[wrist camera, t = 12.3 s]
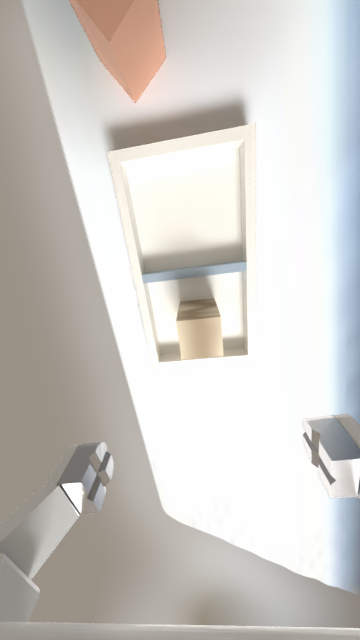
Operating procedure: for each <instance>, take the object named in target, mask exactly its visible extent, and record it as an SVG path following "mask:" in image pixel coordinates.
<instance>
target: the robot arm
mask: <svg viewBox="0 0 360 640" xmlns="http://www.w3.org/2000/svg"><path fill="white" fill-rule="evenodd" d="M303 428H304V430H305V431H306V432H305V433H304V434H303V443H304V446H305V450H306V452H307V455H308V457H309V459H310V461H311V463H312V464H314V465H315V466H316V467H318V468H319V478H320V480H321V482H322V484H323V486H324V487H325V489H326V491H327V493H328V495H329V497H330V498H344V497H359V499H360V425H359V424H358V423H357V422H356V421H355V420H354V419H353V418H352V417H351V416H350V415H348V414H342V415H333V416H323V417H315V418H307V419H303ZM106 450H107V446H106V444H105V443H104V442H100V443H89V444H77V445H70V446H69V447H68V448H67V449H66V450H65V452H64V454H63V455H62V457H61V459H60V460H59V462H58V464H57V465H56V467H55V469H54V470H53V472H52V473H51V475H50V477H49V478H48V480H47V482H46V484H45V485H44V486H43V487H40V488H38V489H37V490H36V491H35V492H34V493H33V494H32V495H31V496H29V497H28V498H27V499H26V500H25V501H24V502H23V503H22V504H21V505H19V506H18V507H17V508H16V509H15V510H14V511H13V512H12V513H11V514H9V515H8V516H7V517H6V518H5V519H4V520H3V521H2V522H1V523H0V640H360V628H320V627H318V628H317V627H264V626H210V625H208V626H207V625H205V626H204V625H154V624H100V623H94V624H93V623H45V622H28V621H29V619H30V616H31V614H32V611H33V609H34V607H35V604H36V602H37V600H38V597H39V595H40V590H39V588H38V587H37V586H36V585H35V584H34V583H33V582H32V581H31V579H32V578H33V577H34V575H35V574H36V573H37V571H38V570H39V568H40V567H41V566H42V565H43V563H44V562H45V561H46V560H47V558H48V557H49V556H50V554H51V553H52V552H53V550H54V549H55V548H56V546H57V545H58V544H59V542H60V541H61V540H62V538H63V537H64V536H65V534H66V533H67V532H68V530H69V529H70V528H71V526H72V525H73V524H74V523H75V521H76V520H77V518H78V517H79V514H88V513H97V512H100V510H101V507H102V504H103V501H104V498H105V495H106V489H105V486H106V485H107V483H108V482H109V481H110V480H111V477H112V474H113V468H114V462H113V458H112V456H111V454H109V453H108V452H106Z"/></svg>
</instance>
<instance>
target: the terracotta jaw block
mask: <svg viewBox="0 0 360 640" xmlns="http://www.w3.org/2000/svg"><path fill="white" fill-rule="evenodd" d="M69 2H70V4H71V6H72V7H73V9H74V11H75V13H76V15H77V17H78V19H79V21H80V23H81V25H82V27H83V29H84V30H85V32H86V34H87V36H88V38H89V40H90V42H91V44H92V46H93V48H94V50H95V52H96V54H97V55H98V57H99V59H100V61H101V62H102V63H103V65H104V66H105V67H106V68H107V70H108V71H109V72H110V73H111V74H112V76H113V77H114V78H115V79H116V80H117V82H118V83H119V84H120V85H121V87H122V88H123V89H124V90H125V91H126V93H127V94H128V95H129V96H130V97H131V99H132V100H133V101H134V102H135V103H136V102H137V100H138V99H139V97H140V96H141V94H142V93H143V91H144V90H145V88H146V87H147V86H148V84H149V83H150V81H151V80H152V78H153V77H154V75H155V74H156V72H157V71H158V69H159V68H160V66H161V65H162V63H163V62H164V61H165V59H166V54H165V47H164V40H163V34H162V27H161V20H160V13H159V7H158V0H69Z"/></svg>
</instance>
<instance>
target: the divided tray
mask: <svg viewBox="0 0 360 640" xmlns="http://www.w3.org/2000/svg"><path fill="white" fill-rule="evenodd" d="M107 154H108V159H109V163H110V168H111V173H112V178H113V182H114V187H115V192H116V197H117V201H118V206H119V211H120V215H121V220H122V225H123V230H124V234H125V239H126V244H127V249H128V253H129V258H130V263H131V267H132V272H133V277H134V282H135V286H136V291H137V296H138V301H139V305H140V310H141V315H142V319H143V324H144V329H145V334H146V338H147V343H148V348H149V353H150V357H151V362H152V367H153V369H162V368H175V367H187V366H200V365H213V364H226V363H238V362H251V361H256V123H254V124H249V125H244V126H238V127H233V128H228V129H223V130H218V131H213V132H207V133H202V134H197V135H192V136H187V137H181V138H176V139H171V140H166V141H161V142H155V143H150V144H145V145H140V146H135V147H129V148H124V149H119V150H114V151H109V152H107ZM208 298H214V299H215V301H216V304H217V307H218V310H219V313H220V315H221V325H222V340H223V356H219V357H207V358H195V359H183V360H182V359H181V352H180V345H179V339H178V332H177V325H176V319H177V314H178V309H179V304H180V302H181V301H190V300H199V299H208Z"/></svg>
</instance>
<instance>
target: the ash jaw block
mask: <svg viewBox="0 0 360 640" xmlns="http://www.w3.org/2000/svg"><path fill="white" fill-rule="evenodd" d="M176 325H177V332H178V339H179V345H180V352H181V359H182V360H183V359H195V358H207V357H219V356H223V340H222V325H221V315H220V313H219V310H218V307H217V304H216V301H215V299H214V298H208V299H199V300H190V301H181V302H180V304H179V309H178V314H177V319H176Z"/></svg>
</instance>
